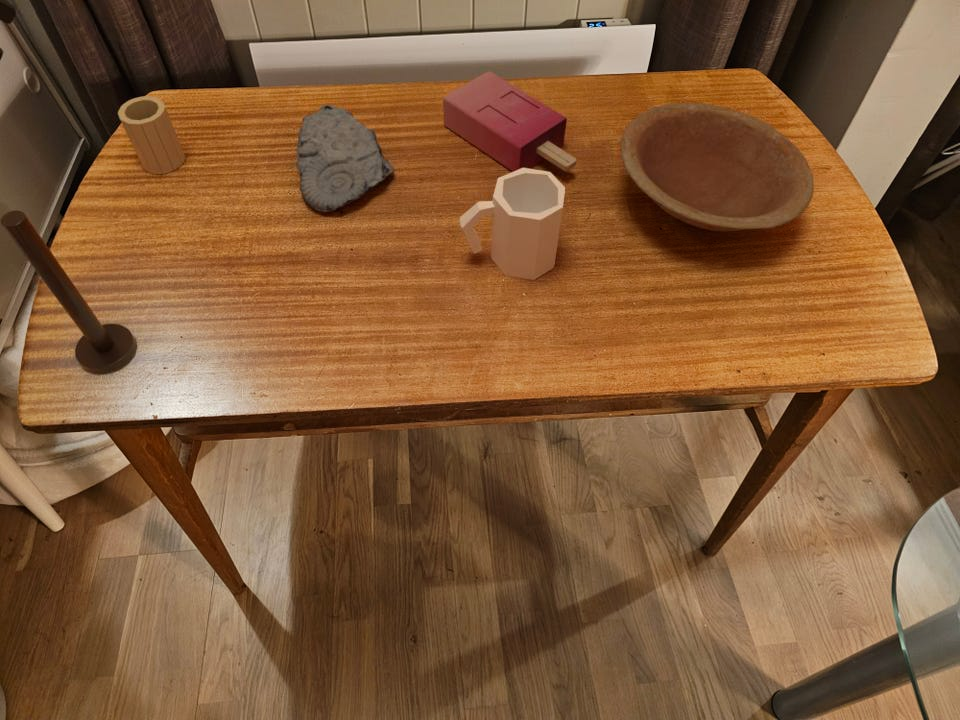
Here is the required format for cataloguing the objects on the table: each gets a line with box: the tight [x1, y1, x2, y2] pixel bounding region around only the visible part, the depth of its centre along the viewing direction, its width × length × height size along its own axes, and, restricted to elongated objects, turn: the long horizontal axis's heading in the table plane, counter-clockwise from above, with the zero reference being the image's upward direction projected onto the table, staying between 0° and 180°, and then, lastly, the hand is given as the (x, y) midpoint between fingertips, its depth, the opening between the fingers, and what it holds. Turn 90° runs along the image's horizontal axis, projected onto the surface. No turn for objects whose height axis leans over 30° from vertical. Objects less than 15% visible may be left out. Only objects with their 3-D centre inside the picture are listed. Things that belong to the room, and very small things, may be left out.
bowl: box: [619, 102, 815, 232], centre depth 89 cm, size 24×24×8 cm
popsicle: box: [442, 70, 577, 172], centre depth 97 cm, size 9×5×20 cm
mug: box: [459, 168, 566, 281], centre depth 83 cm, size 12×9×10 cm
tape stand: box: [0, 209, 138, 375], centre depth 70 cm, size 6×6×20 cm
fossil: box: [295, 104, 395, 213], centre depth 94 cm, size 13×18×4 cm
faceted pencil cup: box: [117, 95, 186, 175], centre depth 93 cm, size 6×6×8 cm
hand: (7, 37), depth 79 cm, fingers open, 8 cm apart
